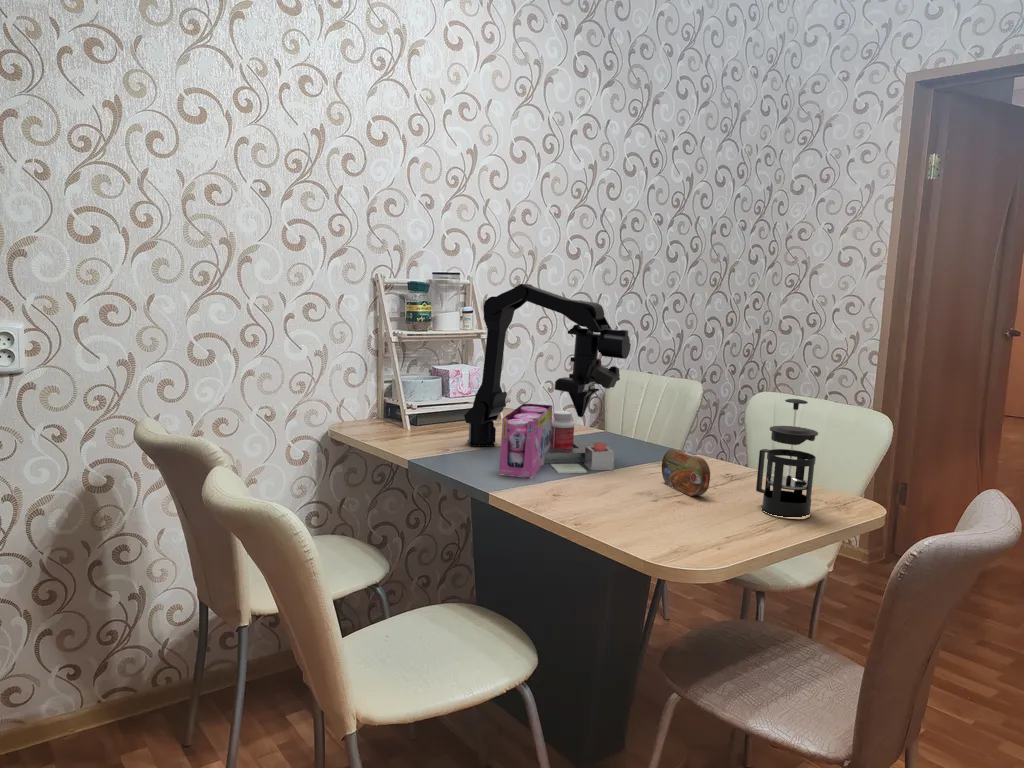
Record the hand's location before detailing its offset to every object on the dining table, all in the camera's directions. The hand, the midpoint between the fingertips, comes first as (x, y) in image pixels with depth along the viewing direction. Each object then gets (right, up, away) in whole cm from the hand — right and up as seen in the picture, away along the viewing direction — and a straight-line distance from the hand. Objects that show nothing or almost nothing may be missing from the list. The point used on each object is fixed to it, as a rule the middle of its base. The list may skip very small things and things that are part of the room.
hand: (580, 416), depth 178 cm
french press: (+38, -18, -33) cm, 53 cm away
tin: (+21, -15, -21) cm, 33 cm away
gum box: (-14, -12, -4) cm, 19 cm away
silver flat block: (-3, -10, +6) cm, 12 cm away
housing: (+4, -12, -4) cm, 13 cm away
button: (+4, -9, -4) cm, 11 cm away
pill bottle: (-4, -10, +7) cm, 13 cm away
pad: (-4, -12, -7) cm, 14 cm away
